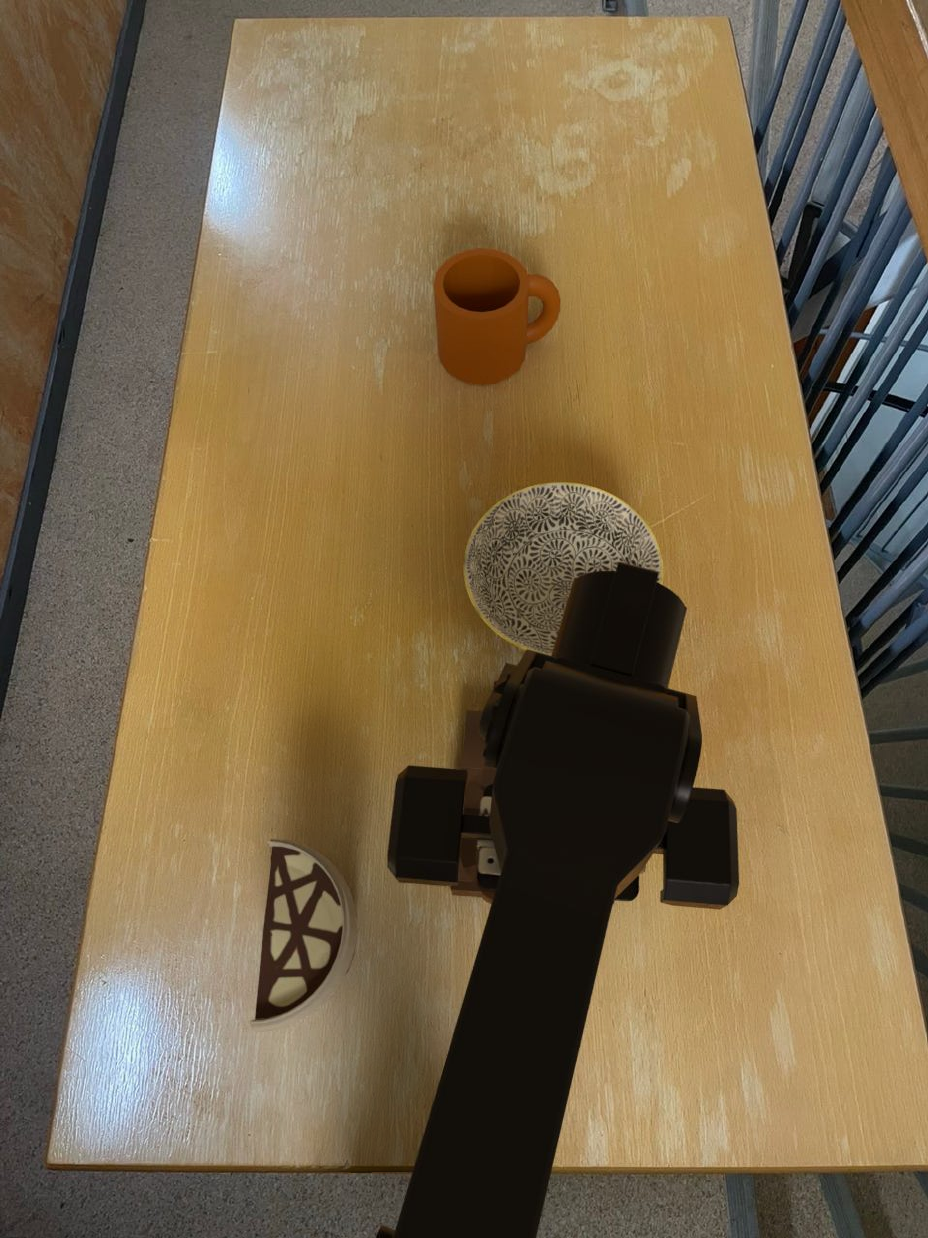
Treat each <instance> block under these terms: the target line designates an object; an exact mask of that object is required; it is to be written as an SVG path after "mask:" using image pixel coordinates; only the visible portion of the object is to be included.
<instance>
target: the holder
mask: <svg viewBox="0 0 928 1238" xmlns="http://www.w3.org/2000/svg"><path fill="white" fill-rule="evenodd" d="M482 713H483V711H477V710H466V711H465V720H464V729H463V730H464V732H463V744H462V754H461V757H462V758H461V768H460V769H462V770H467V772H468V777H467V785H466V791H465V803H464V815H477V816H479V813H481V812H480V801H481V798H483V793H484V790H485V788H486V787H487V786H488V785H490V784H493V782H494V778H495V774H496V771H497V769H495V768H491V767H488V766H485V765H484V763H485V758H484V757H483V752H484V745H485V744H484V742H483V740H482V738H481V736H480V734H479V733H478V729H479V724H480V720H481V717H482ZM478 857H479V849H477V839H469V838H461V850H460V861H459V882H458V885H457V886H450V891H451V895H452V896H460V897H470V898H471V897H472V898H482V900H483V901H484V902H486V903H488V904H490V905H491V904H492V901H493V898H494V894H495V891H496V890H487V889H484V888H482V887H481V886H480V885H479V883H478V881H477V869H478ZM615 902H616V901H615V900H614V902H613V905H614V904H615Z"/></svg>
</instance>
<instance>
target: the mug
mask: <svg viewBox="0 0 928 1238" xmlns="http://www.w3.org/2000/svg"><path fill="white" fill-rule="evenodd" d="M432 286H433V297H434V312H435V325H436V326H435V327H436V339H437V341H436V342H437V353H438V357H439V362H440V364H441V366H442V367H443V369H444V370H445V372H447V373H448V374H449V375H451V376H452V377H453V378H454V379H456V380H458V381H460V382H463V383H465V384H466V383H467V384H469V385H476V386H477V385H478V386H485V385H486V386H487V385H493V384H498V383H501V382H503V381H505V380H507V379H510V377H512V376H513V375H514V374H516V373H517V372H518V371H519V370H520V368H521V367H522V365H523V364H524V362H525V360H526V352H527V345H531V344H533V343H536V342H537V341H540V340H541V339H542V338H544V337H545V336H547V335H548V333H549V332H550V331H551V330H552V329H553V328H554V326H555V324H556V322H557V321H558V317H559V316H560V312H561V296H560V292H559V289H558V288H557V287H556V285H555V283H554V282H553V281H552V280H551V279H549V278H548V277H547V276H544V275H541V274H537V273H528V271H527V269H526V268H525V267H524V265H523V264H522V263H521V261H520V260H518V259H517V258H516V257H514V256H512V255H511V254H510V253H506V252H504V251H501V250H498V249H494V248H483V247H482V248H481V247H480V248H473V249H466V250H464V251H460V252H458V253H456V254H453V255H452V256H450V257H449V258H447V259H446V260H444V262H443V263H442V264H441V265H440V266H439V267H438V269H437V271H436V272H435V276H434V279H433V285H432ZM530 297H534V298H535V297H536V298H537V299H539V300H540V301H541V303H542V309H541V312H540V313H539V315H538V316H537V317H536V318H535V319H534V320H533V321H530V322H529V305H530V304H529V302H530Z"/></svg>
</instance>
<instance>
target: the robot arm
mask: <svg viewBox="0 0 928 1238" xmlns="http://www.w3.org/2000/svg"><path fill="white" fill-rule="evenodd" d="M658 575H659V572H658V571H654V570H650V569H646V568H643V567H639V566H635V565H631V564H627V563H623V562H618V565H617V569H616V571H596V572H590V573H586V574H584V575H581V576H579V577H578V578H575V579H574V581H573V584H572V587H571V591H570V594H569V597H568V601H567V604H566V608H565V611H564V614H563V618H562V621H561V624H560V628H559V631H558V635H557V638H556V641H555V645H554V648H553V651H552V655H551V656H550V655H547V654H543V653H539V652H536V651H532V650H529V649H527V650H526V651H525V650H524V653H523V655H522V657H521V658H520V660H519V661H518V663H517V665H515V664H512V663H509V662H505V664H504V666H503V668H502V670H501V672H500V675H499V677H498V679H495V680H494V681H493V687H492V691H491V693H490V695H489V697H488V699H487V701H486V703H485V705H484V708H483V710H482V712H483V713H482V717H481V720H480V724H479V729H478V733H479V734H480V736H481V738H482V740H483V742H484V744H485V745H484V752H483V757H484V758H485V763H484V765H485V766H488V767H491V768H495V769H497V771H496V774H495V778H494V782H493V784H490V785H488V786H487V787H486V788H485V790H484V793H483V798H481V801H480V812H481V813H479V816H477V815H464V803H465V791H466V785H467V777H468V772H467V770H462V769H461V768H449V767H437V766H436V767H435V766H422V765H409V764H408V765H406V767H405V768H404V769H403V770H402V771H401V772H400V773H398V774H397V777H396V781H395V787H394V794H393V803H392V811H391V819H390V829H389V836H388V846H387V853H386V856H387V857H386V867H387V869H388V870H389V872H390V873H391V875H392V876H393V877H394V878H395V880H396V881H397V882H398V883H400V884H401V883H402V884H411V885H413V884H414V885H424V886H425V885H426V886H437V887H451V886H457V885H458V882H459V861H460V850H461V838H469V839H477V849H479V857H478V869H477V881H478V883H479V885H480V886H481V887H482V888H484V889H487V890H496V891H495V894H494V898H493V901H492V904H490V908H489V911H488V915H487V918H486V921H485V926H484V929H483V931H482V936H481V939H480V942H479V945H478V949H477V951H476V955H475V959H474V963H473V966H472V968H471V972H470V976H469V980H468V983H467V986H466V989H465V991H464V996H463V1000H462V1003H461V1006H460V1008H459V1009H460V1010H459V1013H458V1016H457V1018H456V1019H457V1020H456V1023H455V1026H454V1029H453V1032H452V1033H453V1034H452V1036H451V1040H450V1043H449V1047H448V1050H447V1053H446V1057H445V1061H444V1063H443V1067H442V1071H441V1073H440V1077H439V1080H438V1083H437V1087H436V1091H435V1094H434V1097H433V1100H432V1105H431V1107H430V1111H429V1115H428V1118H427V1122H426V1125H425V1128H424V1131H423V1135H422V1138H421V1141H420V1145H419V1148H418V1151H417V1155H416V1158H415V1162H414V1165H413V1169H412V1172H411V1176H410V1179H409V1182H408V1184H407V1185H408V1186H407V1189H406V1193H405V1195H404V1199H403V1202H402V1205H401V1209H400V1212H399V1216H398V1219H397V1223H396V1225H395V1229H393V1228H391V1227H388V1226H386V1225H383V1224H381V1225H380V1227H379V1228H378V1230H377V1234H376V1236H375V1238H537V1235H538V1231H539V1227H540V1223H541V1218H542V1214H543V1209H544V1206H545V1201H546V1197H547V1193H548V1189H549V1183H550V1180H551V1175H552V1170H553V1166H554V1161H555V1157H556V1153H557V1148H558V1144H559V1139H560V1136H561V1131H562V1127H563V1122H564V1117H565V1113H566V1110H567V1106H568V1100H569V1096H570V1093H571V1088H572V1085H573V1084H572V1083H573V1078H574V1074H575V1070H576V1065H577V1062H578V1057H579V1053H580V1050H581V1049H580V1048H581V1044H582V1040H583V1035H584V1032H585V1031H584V1030H585V1026H586V1022H587V1018H588V1014H589V1008H590V1005H591V1000H592V995H593V993H594V987H595V983H596V978H597V973H598V970H599V966H600V961H601V957H602V951H603V947H604V945H605V939H606V935H607V930H608V926H609V922H610V918H611V913H612V910H613V906H614V904H613V902H614V900H615V902H616V901H618V902H632V901H634V900H635V899H636V898H637V897H638V896H639V893H640V875H643V874H644V873H645V872H646V869H647V864H648V863H649V861H650V859H651V858H652V856H653V855H654V854H655V855H662V889H661V890H660V891H659V893H660V894H659V897H660V898H659V899H660V900H659V902H660V903H661V904H664V905H668V906H673V907H683V908H697V909H708V910H709V909H710V910H722V909H724V908H725V907H727V906H728V905H729V904H731V903H732V902H733V901H734V900H735V899H736V898H737V896H738V892H739V886H740V869H739V868H740V866H739V837H738V809H737V807H736V803H735V801H734V800H733V799H732V798H731V796H730V795H729V793H728V792H727V791H726V790H725V789H724V788H723V789H722V788H710V787H708V788H707V787H697V786H695V787H694V785H695V781H696V777H697V772H698V768H699V765H700V758H701V753H702V748H703V747H702V746H703V733H702V727H701V726H702V725H701V719H700V713H699V706H698V698H697V695H695V694H694V695H693V694H690V693H687V692H683V691H680V690H677V689H676V690H675V689H672V688H669V685H670V681H671V676H672V673H673V668H674V665H675V660H676V656H677V651H678V649H679V648H678V647H679V644H680V639H681V635H682V631H683V627H684V623H685V619H686V614H687V611H688V608H687V607H688V606H686V604H685V603H684V602H683V600H682V599H681V597H680V596H679V595H677V593H675V592H674V591H673V590H671V589H670V588H668V587H666V586H665V585H664V584H663V585H661V584H660V583H658V582H657V578H658Z"/></svg>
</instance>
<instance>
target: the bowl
mask: <svg viewBox="0 0 928 1238" xmlns="http://www.w3.org/2000/svg"><path fill="white" fill-rule="evenodd" d="M618 562H623V563H627V564H631V565H635V566H639V567H643V568H646V569H650V570H654V571H658V572H659V575H658V578H657V582H658V583H660V584H661V585H663V586H664V578H665V577H664V576H665V573H664V572H665V571H664V570H665V568H664V559H663V555H662V552H661V549H660V545H659V542H658V540H657V538H656V536H655V533H654V532H653V531H652V529H651V527H650V526H649V524H648V522H647V521H646V520H645V519H644V518H643V517H642V515H641V514H640V513H639V512H638V511H637V510H636V509H634V507H632V506H631V505H630V504H629V503H627V502H626V501H624V500H623V499H621V498H619V497H618V496H616V495H615V494H612V493H610V492H608V491H606V490H603V489H601V488H599V487H595V486H592V485H588V484H584V483H580V482H571V481H553V482H545V483H538V484H534V485H531V486H530V485H529V486H528V487H524V488H521V489H519V490H515V492H514V491H513V492H511V493H510V494H508V495H507V496H505V497H504V498H502V499H500V500H499V501H498V502H496V503H495V504H494V505H492V506H491V507H490V508H489V509H488V510H487V511H486V512H485V513H484V514H483V515H482V516H481V518H480V519H479V520H478V522H477V523H476V525H475V526H474V528H473V529H472V531H471V533H470V535H469V538H468V540H467V542H466V546H465V549H464V554H463V563H462V565H463V566H462V570H463V571H462V573H463V580H464V585H465V589H466V592H467V595H468V597H469V598H468V599H469V600H470V602H471V604H472V606H473V608H474V609H475V612H476V613H477V614H478V616H479V617H480V618H481V619H482V622H483V623H485V624H486V625H487V626H488V627H489V629H491V630H492V631H493V632H494V633H495V634H496V635H498V636H499V637H500V638H501V639H503V640H504V641H506V642H507V643H508V644H510V645H512V646H513V647H516V648H518V649H519V650H522V651H524V652H525V651H526V650H527V649H529V650H532V651H536V652H539V653H543V654H547V655H550V656H551V655H552V651H553V648H554V645H555V641H556V638H557V635H558V631H559V628H560V624H561V621H562V618H563V614H564V611H565V608H566V604H567V601H568V597H569V594H570V591H571V587H572V584H573V581H574V579H575V578H578V577H579V576H581V575H584V574H586V573H590V572H596V571H616V569H617V565H618Z"/></svg>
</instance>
